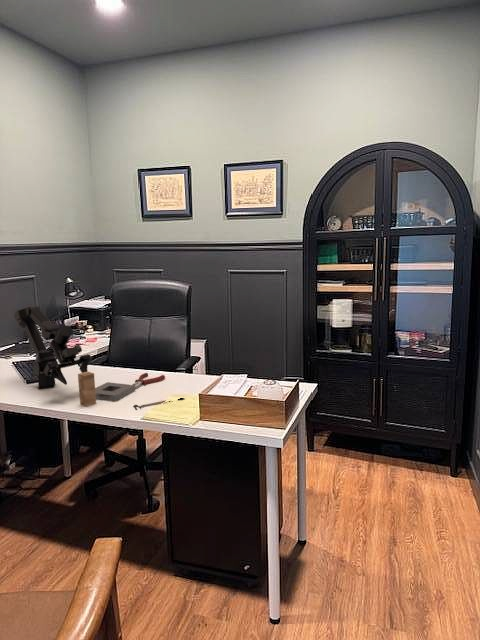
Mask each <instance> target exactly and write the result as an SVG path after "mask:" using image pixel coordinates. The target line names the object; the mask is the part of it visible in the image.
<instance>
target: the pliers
mask: <svg viewBox="0 0 480 640" xmlns="http://www.w3.org/2000/svg"><path fill="white" fill-rule="evenodd" d="M148 376H149V373H148V372H144V373H142V374H141V375H139V377H138V378H137V379H135V381H134V382H133V383H132V384H131V385H135V389H137V388H141V387H142V386H147V385H150V384H155V383H159V382H162V381H164V380H165V378H166V376H165V374H161V375H159V376H156V377H151V378H148ZM147 378H148V379H147Z"/></svg>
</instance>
